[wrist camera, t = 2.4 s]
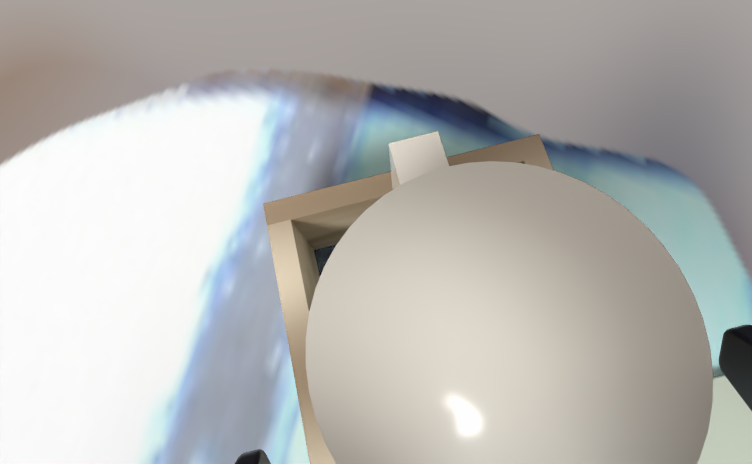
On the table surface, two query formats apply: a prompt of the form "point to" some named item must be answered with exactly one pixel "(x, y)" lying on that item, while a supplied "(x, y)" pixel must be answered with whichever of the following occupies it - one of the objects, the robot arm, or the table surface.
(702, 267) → the table surface
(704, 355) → the rounded top cylinder
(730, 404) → the sage mat
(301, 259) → the frame
